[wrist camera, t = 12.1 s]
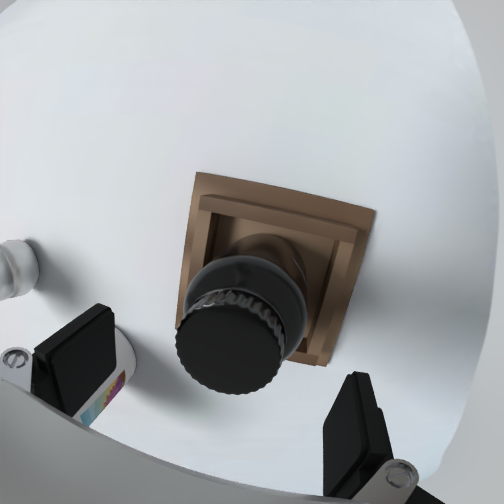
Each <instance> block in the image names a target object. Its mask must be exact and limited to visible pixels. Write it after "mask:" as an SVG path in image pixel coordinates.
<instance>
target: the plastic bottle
mask: <svg viewBox="0 0 504 504" xmlns="http://www.w3.org/2000/svg"><path fill="white" fill-rule="evenodd" d="M38 277H39V266H38V261H37V258H36V256H35V253H34V251H33V250H32V248H31V247H30V246H29V245H28V244H27V243H25V242H23V241H21V240H8V241H5V242H3V243H1V244H0V301H1V300H4V299H7V298H13V297H18V296H22V295H25V294H26V293H28V292H29V291H30V290H32V289H33V288H34V287H35V285H36V283H37V280H38Z"/></svg>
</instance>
